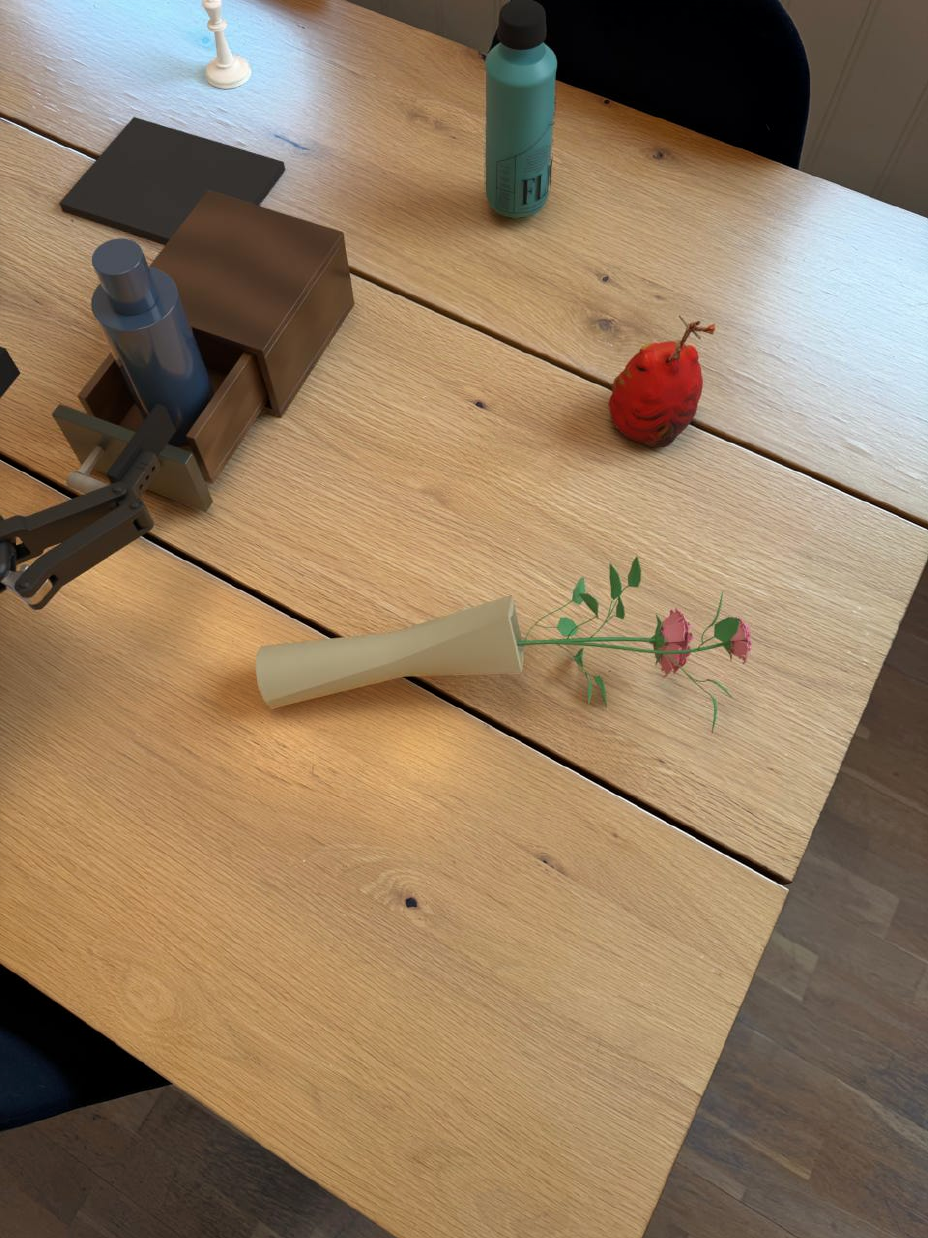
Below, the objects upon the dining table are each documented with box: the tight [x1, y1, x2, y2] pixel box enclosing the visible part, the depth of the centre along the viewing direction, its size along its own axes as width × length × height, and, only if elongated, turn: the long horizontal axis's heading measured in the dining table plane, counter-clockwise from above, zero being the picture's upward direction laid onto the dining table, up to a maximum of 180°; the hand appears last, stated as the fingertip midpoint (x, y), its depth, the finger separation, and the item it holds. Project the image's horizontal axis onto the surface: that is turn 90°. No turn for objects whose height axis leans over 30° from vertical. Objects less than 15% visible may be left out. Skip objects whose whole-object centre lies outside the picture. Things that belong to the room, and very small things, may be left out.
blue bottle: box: [90, 237, 215, 446], centre depth 80 cm, size 6×6×18 cm
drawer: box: [51, 333, 269, 513], centre depth 85 cm, size 18×12×7 cm
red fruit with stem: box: [608, 314, 716, 449], centre depth 83 cm, size 8×7×15 cm
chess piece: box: [201, 0, 252, 90], centre depth 107 cm, size 5×5×10 cm
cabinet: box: [148, 190, 355, 418], centre depth 91 cm, size 15×14×9 cm
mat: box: [58, 116, 286, 246], centre depth 103 cm, size 18×14×1 cm
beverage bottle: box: [483, 0, 558, 219], centre depth 93 cm, size 6×7×20 cm
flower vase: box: [255, 555, 753, 735], centre depth 75 cm, size 12×12×35 cm
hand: (86, 387), depth 74 cm, fingers open, 13 cm apart
